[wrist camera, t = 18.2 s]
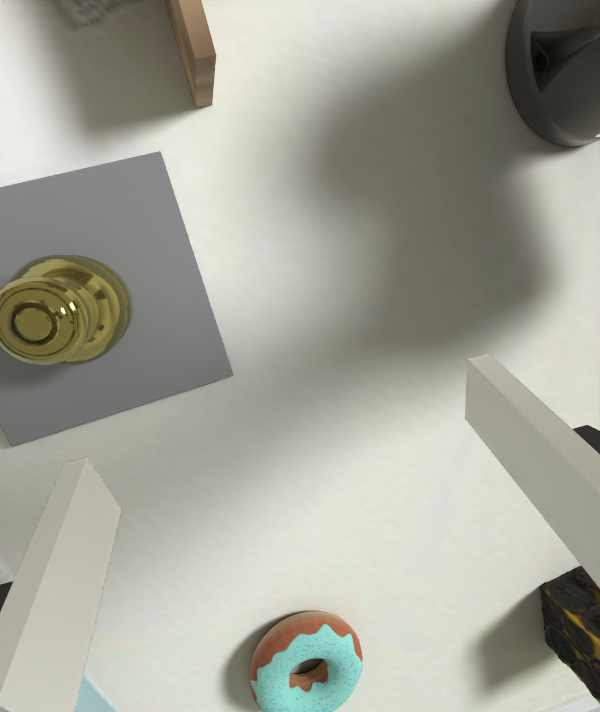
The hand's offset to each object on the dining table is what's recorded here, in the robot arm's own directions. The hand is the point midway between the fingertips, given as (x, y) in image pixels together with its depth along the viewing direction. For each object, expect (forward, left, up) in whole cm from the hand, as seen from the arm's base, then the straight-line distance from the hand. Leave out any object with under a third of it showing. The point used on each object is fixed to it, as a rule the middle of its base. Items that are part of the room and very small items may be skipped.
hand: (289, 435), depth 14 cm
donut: (+29, +20, -23) cm, 42 cm away
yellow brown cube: (+15, +53, -22) cm, 60 cm away
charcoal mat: (+2, -12, -22) cm, 25 cm away
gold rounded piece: (+2, -12, -22) cm, 25 cm away
